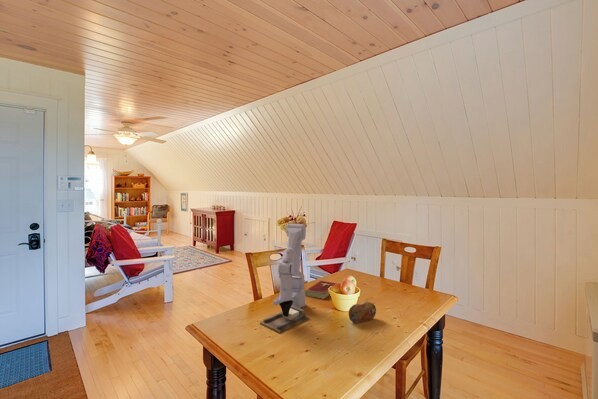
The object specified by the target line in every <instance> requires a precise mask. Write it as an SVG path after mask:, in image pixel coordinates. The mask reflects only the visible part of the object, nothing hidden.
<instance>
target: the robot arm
mask: <svg viewBox="0 0 598 399" xmlns="http://www.w3.org/2000/svg"><path fill="white" fill-rule="evenodd" d="M306 227H307V226H306V225H305V223H287V224H286V228H285V232H286V235H287V239H288V241H287V247H286V248H285V249H284V250H283V254H282V258H281V263H280V262H279V264H278V270H277V271H278V278H279V295H278V297H276V298H274V299H273V300H272V305H273V306H276V307H277V306H278V305H279V306H280V308H281V309H280V310H281V312H283V316H285V317H287V316H288V314H289V311H290V308H291V306H295V307H297V308H300V309H302V308H303V307H305V306H307V304H306V295H305V292H306V289H304V288H305V284H306V283H305V280H306V279H305V274H303V273H302V272H301V271H300V270H301V256H302V255H301V254H302V242H303V241H304V240H305V239H306V233H307V228H306Z"/></svg>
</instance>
